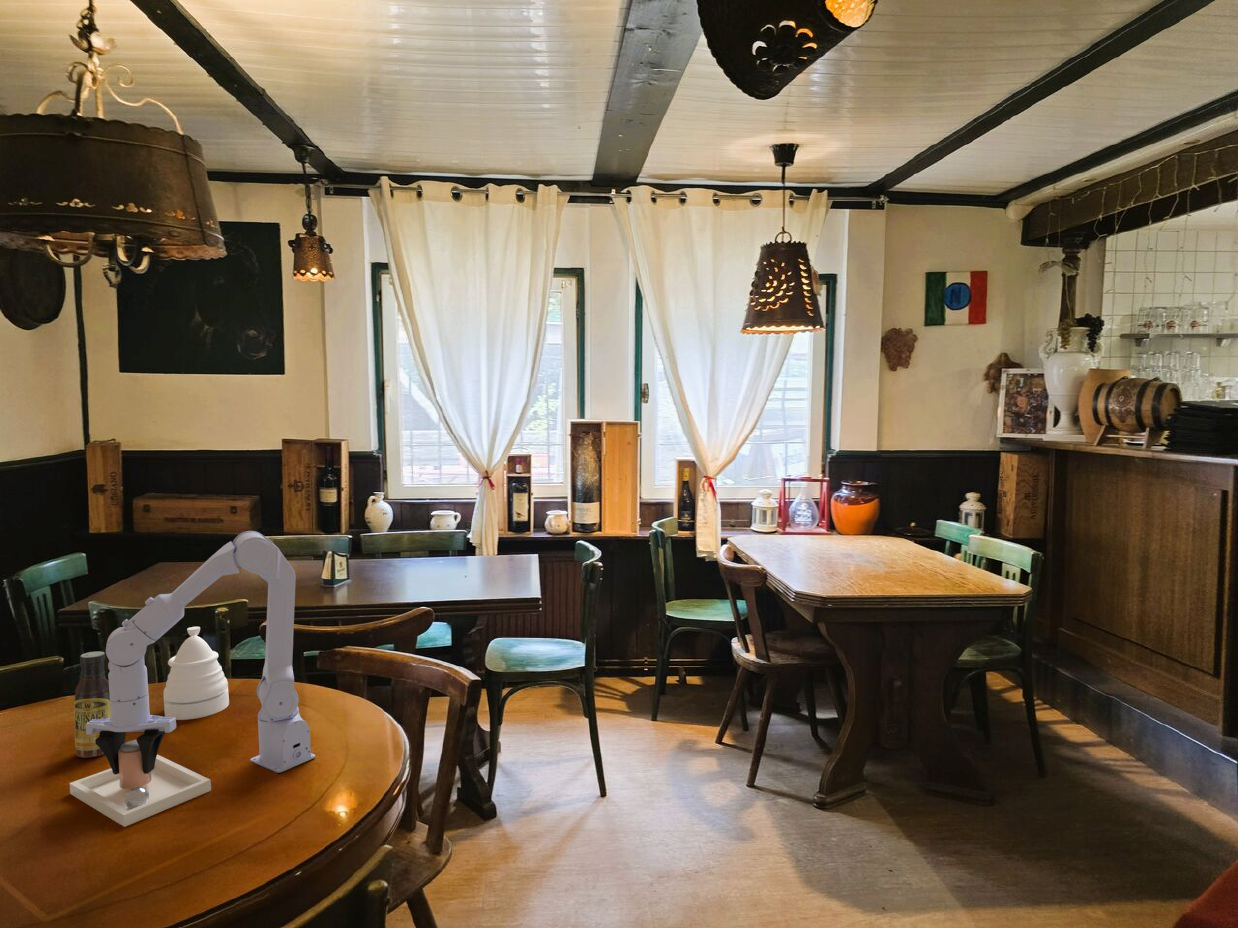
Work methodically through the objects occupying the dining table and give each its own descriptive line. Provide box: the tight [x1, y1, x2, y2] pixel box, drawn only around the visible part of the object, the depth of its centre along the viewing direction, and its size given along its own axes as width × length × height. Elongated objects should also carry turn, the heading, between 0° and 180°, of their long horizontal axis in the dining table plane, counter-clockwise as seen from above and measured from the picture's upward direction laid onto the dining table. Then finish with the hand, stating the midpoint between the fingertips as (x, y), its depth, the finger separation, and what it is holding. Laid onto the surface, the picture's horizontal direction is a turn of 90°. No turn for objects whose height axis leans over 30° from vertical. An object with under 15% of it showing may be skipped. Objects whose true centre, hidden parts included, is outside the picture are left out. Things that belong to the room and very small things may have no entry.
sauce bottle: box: [73, 650, 111, 759], centre depth 153 cm, size 6×6×20 cm
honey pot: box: [162, 626, 230, 721], centre depth 175 cm, size 13×13×18 cm
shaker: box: [118, 739, 152, 789], centre depth 137 cm, size 5×5×7 cm
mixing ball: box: [125, 787, 149, 809], centre depth 130 cm, size 4×4×4 cm
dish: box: [69, 754, 212, 828], centre depth 136 cm, size 20×14×2 cm
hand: (134, 771), depth 137 cm, fingers closed on shaker, 5 cm apart
